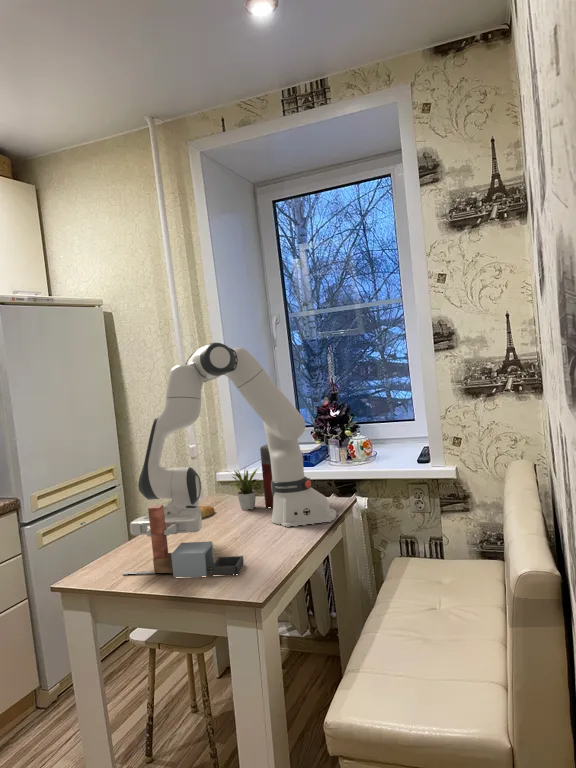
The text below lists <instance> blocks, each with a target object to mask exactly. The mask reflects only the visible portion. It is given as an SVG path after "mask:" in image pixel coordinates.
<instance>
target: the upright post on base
mask: <svg viewBox="0 0 576 768" xmlns="http://www.w3.org/2000/svg"><path fill="white" fill-rule="evenodd" d="M147 511H148V516H149V521H150V531H151V536H150V541H151V548H152V557H153V559H152V564H153V571H154V574H153V575H156V574H155V573H173V567H172V557H171V554H172V553H173V552H169V546H168V545H169V544H168V538H167V537H168V536H163V529H164V528H166V526H165V516H164V504H152V505H150V506H149V507H148V509H147Z"/></svg>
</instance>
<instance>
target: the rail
mask: <svg viewBox="0 0 576 768" xmlns="http://www.w3.org/2000/svg"><path fill="white" fill-rule="evenodd" d="M206 569H207V571H212V570H211V568H206ZM128 574H148V575H155V574H154V570H147V571H145V570H143V571H124V572H123V573H122V576H129V575H128Z"/></svg>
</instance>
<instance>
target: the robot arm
mask: <svg viewBox="0 0 576 768" xmlns="http://www.w3.org/2000/svg"><path fill="white" fill-rule="evenodd" d="M221 376H225V377H227V378H228V379H229V380H230V381H231V382H232V384H233V385H234V386H235V388H236V389H237V390H238V392H239V393H240V395H242V397H243V399H245V401H246V402H247V404H248V405H249V406H250V408H251V409H253V410H254V412H255V413H256V414H257V415H258V416H259V418H261V420H262V423H263V428H264V433H265V437H266V439H265V440H266V444H267V445H268V449H269V454H270V460H271V471H272V480H271V488H272V495H273V509H272V513H271V514H272V516H271V520H270V521H271V523H273V524H276V525H280V524H281V526H283V527H285V526H286V527H285V528H291V527H290V526H294V527H299V526H298V525H303V526H306V525H305V524H312V525H314V524H313V523H320V522H330V521H332V520H334V519H335V518H336V519H337V517H336V515H337V511H336V510H335V509H333V508H331V507H330V503H329V500H328V499H327V497H326V496H325V495H324V494H323V493H320V492H319V491H318V490H316V489H314V488H313V487H312V481H311V477H308V476H305V470H304V457H303V452H302V450H301V447H300V444H299V443H300V442H299V438H300V437H301V436H302V435H303V434H304V432H305V430H306V422H305V419H304V417H303V416H302V414H301V413H300V412H299V410H298V409H297V408H296V407H295V405H294V404H293V403H292V402H291V401H290V400H289V399H288V397H287V396H286V395H285V394H284V393H283V392H282V391H281V389H279V387H278V386H277V385H276V384H275V382H274V381H273V380H272V378H271V377H270V376H269V374H268V373H267V371H266V370H265V369H264V367H262V365H261V363H259V361H258V360H257V358H255V357H254V356H253V355H252V354H251V353H250V351H248V350H247V349H245V348H244V347H240V346H239V347H234V348H231V347H229V346H227V344H224V343H221V342H210V343H208V344H206V345H203V346H201V347H199V348H198V349H197V350H196V351H194V352H193V353H192V354H191V355H190V356H189V357H188V359H187V361H186V362H185V364H183V363H181V364H178V365H175V366H173V367H172V368H171V369H170V371H169V374H168V378H167V383H166V391H165V392H166V393H165V402H164V407H163V410H162V411H161V413H160V414H159V415H157V416H156V417H154V420H153V422H152V426H151V429H150V434H149V438H148V444H147V446H146V447H147V448H146V451H145V452H146V453H145V456H144V462H143V466H142V469H141V471H140V475H139V479H138V485H137V487H138V492H139V493H140V494H141V495H142V496H143V497H144V498H145V499H147V500H160V499H168V500H169V499H170V501H169V502H168V503H167V504H166V505H163V507H164V516H165V526H166V528H164V529H163V536H167V537H168V536H170V535H178V534H185V533H187V534H188V533H189V534H190V533H197V532H199V531H201V530H202V527H203V518H202V516H201V510H200V507H199V506H200V500H199V499H200V497H201V494H202V493H201V492H202V484H201V483H202V482H201V478H200V476H199V474H198V473H197V471H196V470H195V469H194V468H193V467H190V466H189V467H188V466H187V467H186V466H176V467H174V466H173V467H172V466H171V467H170V466H168V467H167V466H164V467H163V466H160V463H161V458H162V453H163V449H164V445H165V444H164V443H165V441H166V439H167V438H168V437H169V436H171V435H172V434H173V433H175V432H178V431H181V430H183V429H185V428H188V427H190V426H192V425H193V424H194V423H195V422H196V421H197V420H198V419H199V417H200V415H201V407H202V388H203V384H204V383H206V382H209V381H213V380H216V379H218V378H219V377H221ZM337 516H338V515H337ZM336 519H335V520H336ZM335 520H334V521H335ZM332 522H333V521H332ZM330 523H331V522H330ZM129 529H130V534H131V535H132V536H142V535H143V536H144V535H146V537H150V538H151V531H150V521H149V515H144V516H143V515H142V516H140V517H138V518H136V519H134V520H133V521H131V522H130V524H129Z"/></svg>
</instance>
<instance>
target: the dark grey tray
mask: <svg viewBox="0 0 576 768" xmlns="http://www.w3.org/2000/svg"><path fill="white" fill-rule="evenodd" d="M243 564H244V565H245V563H244V555H237V556H232V555H231V556H218V557H217V559H216V560H215V561H214V565H213V566H211V568H210V569H211V570H212V572H211V577H212V576H213V575H233V574H234V575H236V574H238V573H239V574H240V572H241V571H240V569H241V567H242V566H243V567H244V565H243ZM243 567H242V568H243ZM241 570H242V569H241ZM239 571H240V572H239ZM239 574H238V575H239Z"/></svg>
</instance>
